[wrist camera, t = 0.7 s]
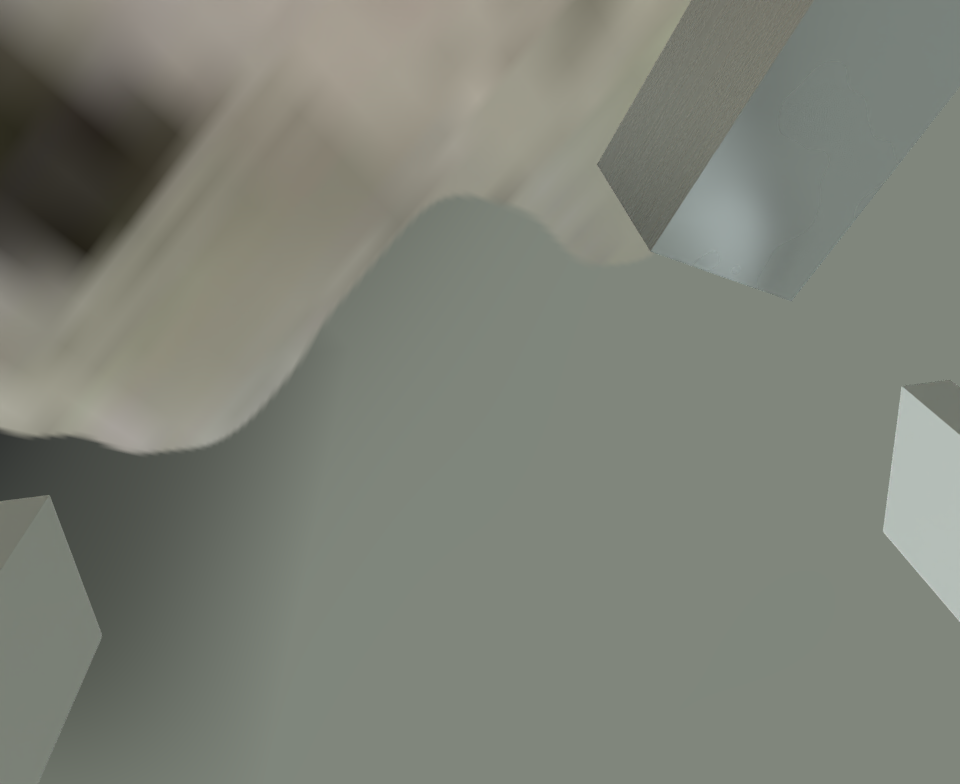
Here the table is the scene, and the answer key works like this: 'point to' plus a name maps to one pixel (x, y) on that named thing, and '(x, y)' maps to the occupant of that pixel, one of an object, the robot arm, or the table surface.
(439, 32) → the table surface
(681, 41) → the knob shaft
